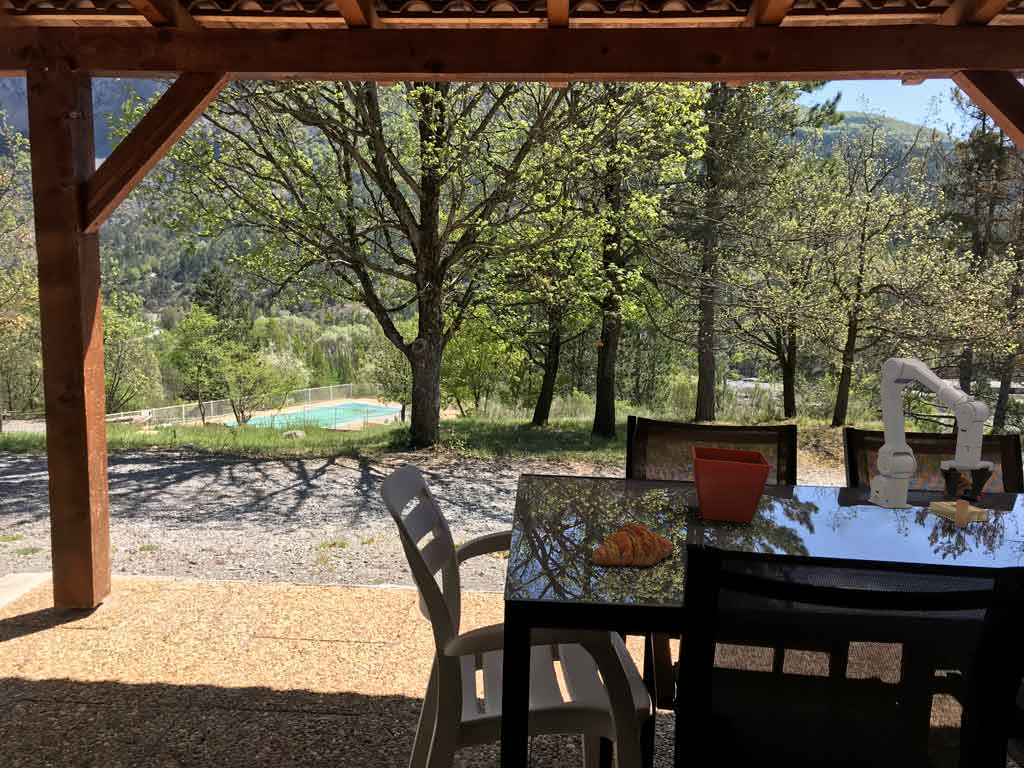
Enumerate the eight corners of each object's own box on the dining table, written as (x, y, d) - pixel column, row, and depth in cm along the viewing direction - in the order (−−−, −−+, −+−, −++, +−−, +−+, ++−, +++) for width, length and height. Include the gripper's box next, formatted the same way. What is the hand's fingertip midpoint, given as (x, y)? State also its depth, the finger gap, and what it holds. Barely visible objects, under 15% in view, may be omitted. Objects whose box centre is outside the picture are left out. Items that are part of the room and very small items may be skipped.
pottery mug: (983, 506, 230) (971, 483, 230) (950, 514, 236) (939, 491, 235) (982, 489, 240) (971, 467, 240) (950, 497, 246) (939, 475, 245)
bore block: (955, 522, 208) (956, 511, 208) (929, 512, 218) (930, 502, 218) (986, 521, 210) (987, 511, 210) (959, 511, 220) (960, 501, 220)
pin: (959, 527, 202) (962, 502, 202) (951, 524, 205) (954, 499, 204) (968, 527, 203) (971, 502, 202) (960, 524, 206) (963, 499, 205)
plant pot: (765, 528, 193) (771, 464, 191) (689, 521, 197) (694, 458, 195) (757, 510, 211) (761, 451, 210) (687, 503, 215) (691, 445, 213)
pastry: (660, 578, 154) (663, 540, 153) (588, 565, 159) (590, 529, 159) (674, 554, 169) (676, 520, 169) (608, 543, 175) (610, 510, 174)
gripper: (956, 448, 196) (951, 499, 198) (1004, 449, 199) (998, 499, 200) (936, 443, 203) (932, 492, 205) (983, 444, 206) (978, 492, 207)
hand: (963, 495), depth 203 cm, fingers open, 7 cm apart
